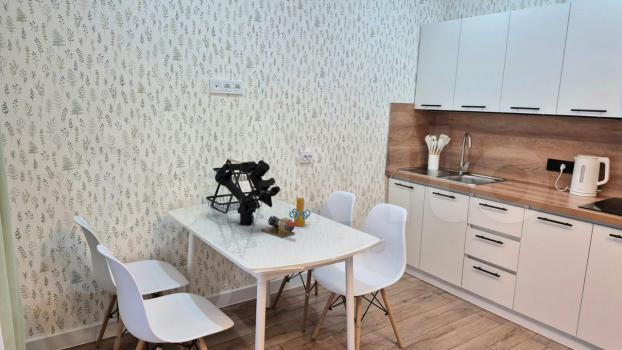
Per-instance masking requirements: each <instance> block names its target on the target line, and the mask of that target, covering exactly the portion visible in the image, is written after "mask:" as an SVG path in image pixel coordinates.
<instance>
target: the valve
mask: <svg viewBox="0 0 622 350" xmlns="http://www.w3.org/2000/svg"><path fill="white" fill-rule="evenodd" d="M279 221H281V222H285V223H286V222H293V218H288V217H283V218H280V217H277V216H274V215H271V216H269V218H268V227H264V228H261V230H260V231H261V232H263V233H266V234H268V235H269V234H270V235H272V236H275V237H278V238H281V239H285V238H287V237H291V236H294V235H295V234H296V231H295V232H294V229H295V226H294V227H293V226H287V225H280V226H278V225H277V222H279Z"/></svg>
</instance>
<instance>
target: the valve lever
mask: <svg viewBox="0 0 622 350" xmlns="http://www.w3.org/2000/svg"><path fill="white" fill-rule="evenodd" d="M277 225H278V226H280V225H287V226H293V227H294V228H295V227H297V224H296V222H294V221H292V222H286V223H285V222H281V221H279V222H277Z"/></svg>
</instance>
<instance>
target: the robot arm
mask: <svg viewBox="0 0 622 350" xmlns="http://www.w3.org/2000/svg"><path fill="white" fill-rule="evenodd" d="M270 169H271V167H270V164H268V163H267V162H266V161H264V160H262V159H261V160H259V161H258V162H256V161H255V160H253V161H244V162H241V163H240V162H239V163H232V162H229V163H227V162H226V163H224V164H223V165H222V166H221V168H220V169H218V170H217V171H216V173H215V176H214V180H215V182H216V184H219V185H220V186H223V187H225V188H226V189H227V190H228V191H229V192H230V193H231V194H232V195H233V197H234V198H235V199H236V200H237V201H238V202H239V204H238V206H239V207H237V209H236V210H237V214H240V215H239V223H238V225H239V226H240V225H241V226H251V225H253V224H254V223H255V218H254V217H255V215H254V213H256V210H257V207H258V202H257V201H260V202H262V203H263V204H265V205H266V206H267V207H269V208H272V207H273V202H272V197H276V195H278V193H280V191H281V188H280V186H278V185H276V186H275V184H276V179H275V177H270V178H268V179H263V177H264V176H265V175H266V174H267V173H268V172H269V170H270ZM233 171H240V172H241V173H244V174H247V177H246V180H247V181H250V183H252V189H251V190H250V191H249V192H248V194H247V195H246V194H245V193H244V192H243V191H242V190H241V188H239V186H238V185H237V184H236V183H235V182H234V181H233V177H232V176H233V173H234V172H233ZM249 173H250V174H249ZM255 197H258V198H257V201H256V198H255Z"/></svg>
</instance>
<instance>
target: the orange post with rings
mask: <svg viewBox="0 0 622 350" xmlns="http://www.w3.org/2000/svg"><path fill="white" fill-rule="evenodd" d="M304 206H305V198H304V197H297V198H296V208H295V207H294V208H292V210H290V211H289V213H288V215H289V218H290V219H293V222H296V224H297V226H296V227H298V228H300V227H301V228H302V227H305V226H306V220H307V219H308V218H309V217H310V216H311V210H309V209H305V207H304ZM291 214H292V215H293V216H292V215H291Z"/></svg>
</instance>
